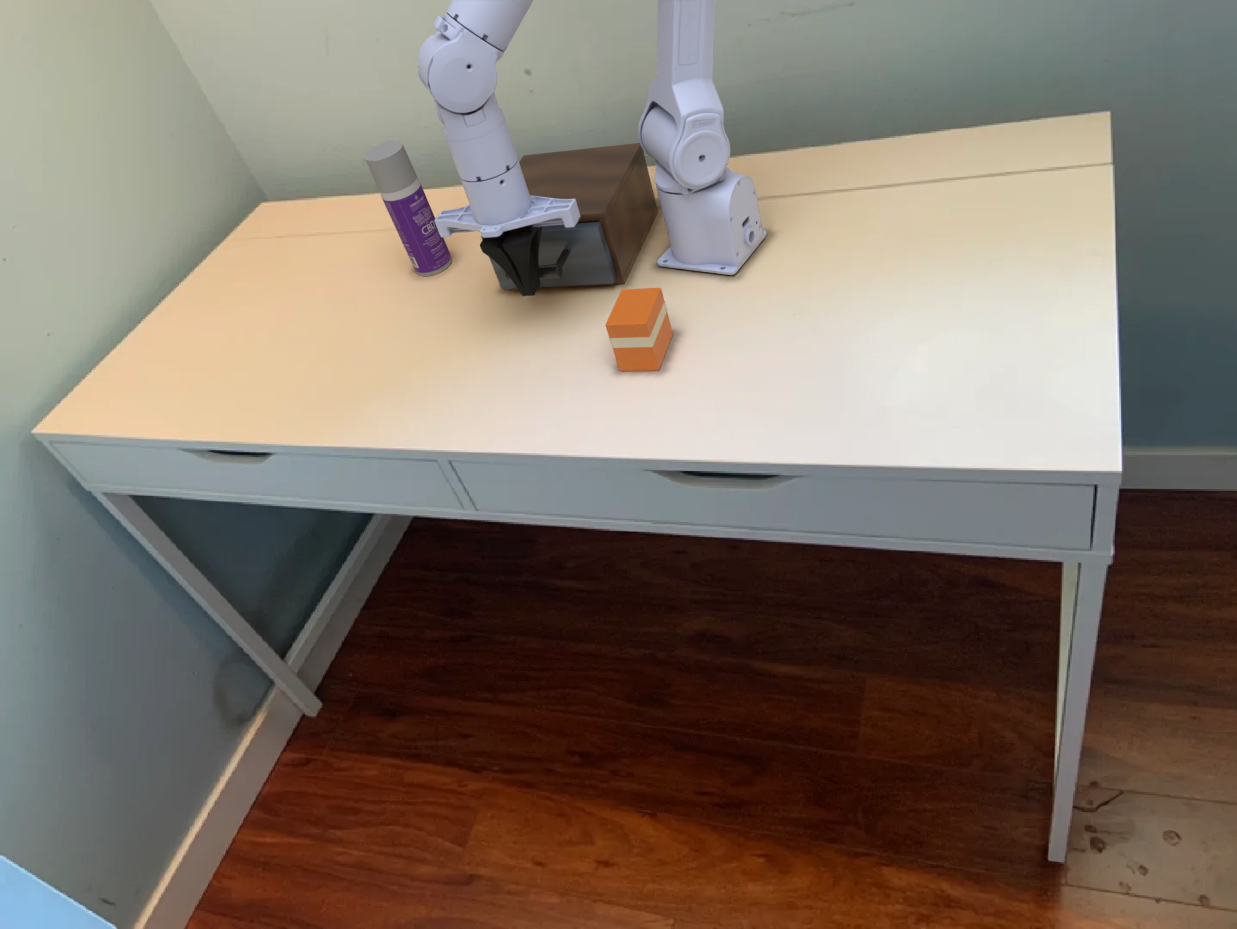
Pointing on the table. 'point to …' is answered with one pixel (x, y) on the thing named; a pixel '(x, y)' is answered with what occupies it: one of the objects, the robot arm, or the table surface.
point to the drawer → (569, 257)
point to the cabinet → (600, 194)
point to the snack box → (639, 329)
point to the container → (408, 207)
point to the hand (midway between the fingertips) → (531, 290)
